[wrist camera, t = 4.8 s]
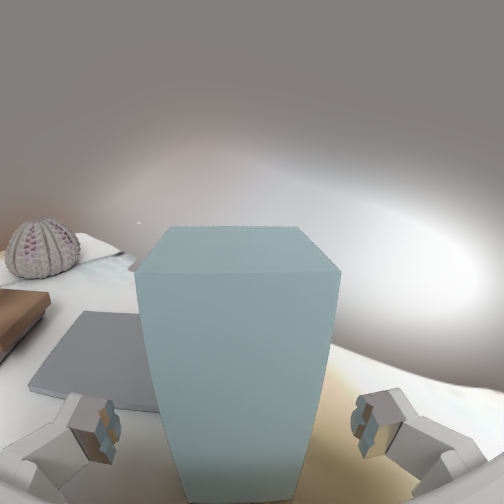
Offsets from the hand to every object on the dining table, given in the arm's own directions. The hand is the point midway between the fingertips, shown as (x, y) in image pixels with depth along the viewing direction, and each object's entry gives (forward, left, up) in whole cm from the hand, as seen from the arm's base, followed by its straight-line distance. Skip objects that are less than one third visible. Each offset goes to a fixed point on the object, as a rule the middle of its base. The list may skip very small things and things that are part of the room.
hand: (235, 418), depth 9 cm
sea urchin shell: (-29, +32, -7) cm, 44 cm away
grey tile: (-9, +12, -7) cm, 17 cm away
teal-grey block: (0, +2, -7) cm, 7 cm away
